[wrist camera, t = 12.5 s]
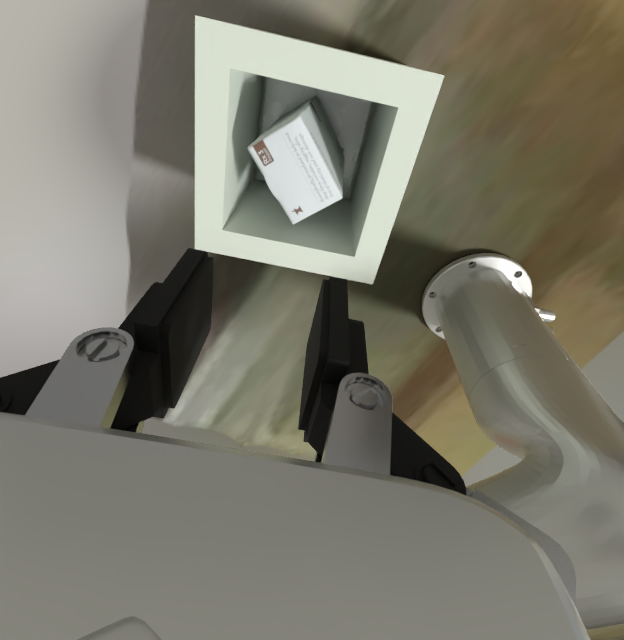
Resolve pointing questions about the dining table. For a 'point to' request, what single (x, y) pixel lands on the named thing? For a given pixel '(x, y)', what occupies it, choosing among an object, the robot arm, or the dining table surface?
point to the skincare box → (301, 160)
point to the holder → (246, 126)
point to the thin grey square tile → (339, 108)
